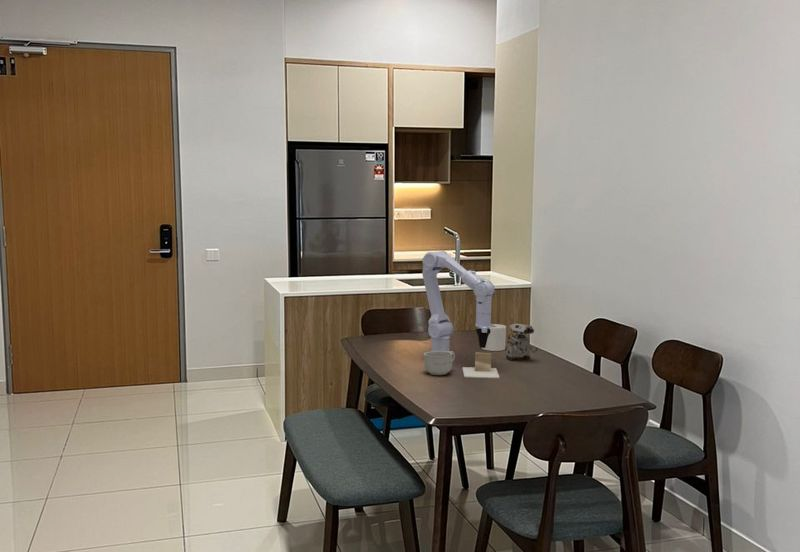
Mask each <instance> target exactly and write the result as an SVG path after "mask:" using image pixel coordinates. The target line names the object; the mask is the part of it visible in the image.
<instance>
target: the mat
mask: <svg viewBox="0 0 800 552" xmlns="http://www.w3.org/2000/svg"><path fill="white" fill-rule="evenodd" d="M462 373H463V377H464V378H472V379H473V378H475V379H476V378H477V379H500V375H499V373H498V370H497V368H496V367H491V372H486V371H475V366H473V367H472V366H471V367H470V366H469V367H468V366H467V367H466V366H463V367H462Z"/></svg>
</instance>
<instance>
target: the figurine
mask: <svg viewBox="0 0 800 552" xmlns="http://www.w3.org/2000/svg"><path fill="white" fill-rule="evenodd" d="M508 328H509V330H512V332H513V333H512V334H511V333H509V334H508V335H507V341H506V342H507V344H509V346H508V347H507V349H506V355H505V357H506V358H505V359H506V360H509V361H514V356H517V357H523V359H525V360H527V359H529V360H531V356H530V355H531V352H530V351H532V353H533V354H536V353H537V352H538V347H536V348H535V349H534V348H533V347H532V345H531V344H530V342H531V341H530V340H531V339H530V338H528V336H526V335H531V334H535V329H534V327H533V326H532V325H527V324H521V323H517V322H516V323H511V325H509V327H508ZM513 334H515V335H513Z"/></svg>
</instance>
